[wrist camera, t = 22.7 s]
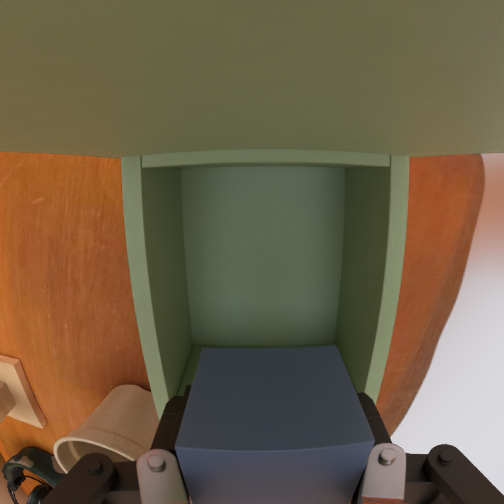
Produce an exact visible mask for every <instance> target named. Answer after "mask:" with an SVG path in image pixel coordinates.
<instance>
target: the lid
mask: <svg viewBox="0 0 504 504" xmlns="http://www.w3.org/2000/svg"><path fill="white" fill-rule="evenodd" d="M244 149H297V150H328V151H348V152H363V153H376V154H388V155H398V156H407V157H424V156H439V155H457V154H481V153H504V0H0V152H25V153H50V154H68V155H83V156H96V157H108V158H123V157H132V156H142V155H153V154H164V153H178V152H193V151H213V150H244Z"/></svg>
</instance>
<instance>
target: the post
mask: <svg viewBox="0 0 504 504" xmlns="http://www.w3.org/2000/svg"><path fill="white" fill-rule="evenodd" d="M6 416H10V417H12V418H15V419H17V420H20V421H22V422H25V423H28V424H30V425H33V426H36V427H39V428H42V429H43V428H44V427H45V425H46V424H47V421H46V419H45V417H44V415H43V413H42V411H41V409H40V407H39V405H38V403H37V401H36V399H35V396H34V394H33V392H32V390H31V387H30V385H29V383H28V380H27V378H26V375H25V373H24V370H23V368H22V365H21V363H20V360H19V359H15V358H11V357H8V356H4V355H0V423H1V422H2V421H3V419H4V418H5V417H6Z"/></svg>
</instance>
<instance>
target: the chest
mask: <svg viewBox="0 0 504 504" xmlns="http://www.w3.org/2000/svg"><path fill="white" fill-rule="evenodd" d="M121 173H122V195H123V211H124V224H125V235H126V246H127V255H128V264H129V272H130V280H131V287H132V294H133V301H134V307H135V313H136V319H137V325H138V331H139V336H140V341H141V347H142V352H143V356H144V361H145V366H146V370H147V375H148V379H149V384H150V388H151V392H152V396H153V400H154V404H155V408H156V412H157V415H158V419H159V420H160V419H161V416H162V414H163V411H164V408H165V405H166V403H167V402H168V401H169V400H170V399H171V398H172V397H173V396H183V395H184V392H185V388H186V386H187V384H190V385H192V383H193V379H194V376H195V372H196V369H197V365H198V362H199V358H200V355H201V352H202V348H290V347H315V346H332V345H336V346H337V349H338V351H339V353H340V356H341V358H342V360H343V363H344V365H345V368H346V370H347V372H348V375H349V377H350V380H351V382H352V383H353V385H354V387H355V390H356V392H357V393H361V392H365V393H366V394H367V395H368V396H369V397H371V398H372V399H373V401H374V403H375V405H376V401H377V398H378V394H379V390H380V386H381V382H382V378H383V374H384V370H385V366H386V361H387V357H388V352H389V348H390V343H391V338H392V333H393V327H394V322H395V316H396V310H397V304H398V298H399V291H400V284H401V277H402V269H403V260H404V250H405V240H406V227H407V212H408V189H409V157H407V156H398V155H388V154H376V153H363V152H348V151H328V150H297V149H244V150H213V151H193V152H178V153H164V154H153V155H142V156H132V157H123V158H121Z"/></svg>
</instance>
